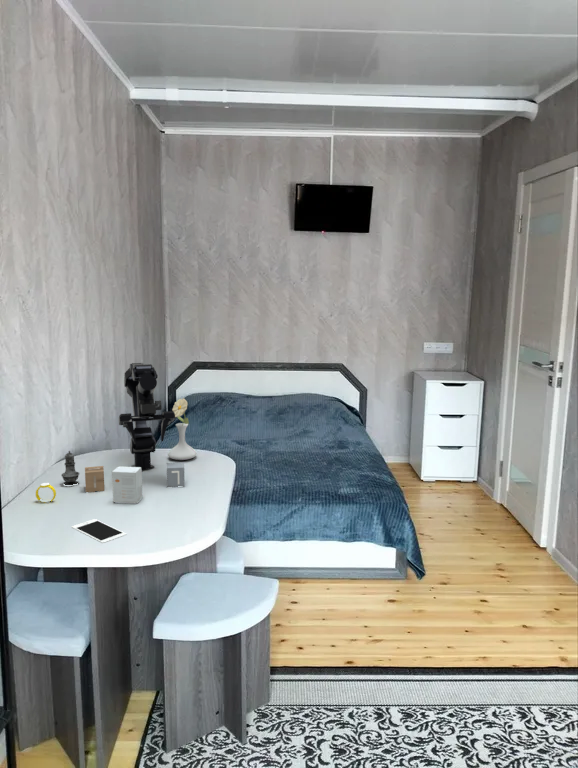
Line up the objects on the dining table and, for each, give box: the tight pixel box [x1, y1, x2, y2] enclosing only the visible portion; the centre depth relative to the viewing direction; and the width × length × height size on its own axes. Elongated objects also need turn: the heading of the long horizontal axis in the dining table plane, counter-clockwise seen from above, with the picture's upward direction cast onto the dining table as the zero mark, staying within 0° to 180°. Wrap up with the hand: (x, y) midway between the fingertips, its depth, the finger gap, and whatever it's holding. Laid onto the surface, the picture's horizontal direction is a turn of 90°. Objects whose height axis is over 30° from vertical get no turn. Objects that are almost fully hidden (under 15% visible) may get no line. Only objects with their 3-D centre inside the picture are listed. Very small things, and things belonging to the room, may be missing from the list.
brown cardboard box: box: [84, 465, 105, 493], centre depth 204 cm, size 6×6×7 cm
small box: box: [111, 466, 144, 505], centre depth 194 cm, size 8×6×10 cm
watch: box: [35, 482, 57, 502], centre depth 192 cm, size 6×3×6 cm, turn 92°
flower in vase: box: [167, 397, 198, 461], centre depth 238 cm, size 13×11×25 cm
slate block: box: [166, 462, 186, 488], centre depth 210 cm, size 6×6×7 cm
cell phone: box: [71, 518, 127, 544], centre depth 171 cm, size 8×16×1 cm, turn 50°
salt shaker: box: [61, 450, 80, 485], centre depth 208 cm, size 6×6×12 cm
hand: (148, 442), depth 207 cm, fingers open, 9 cm apart
